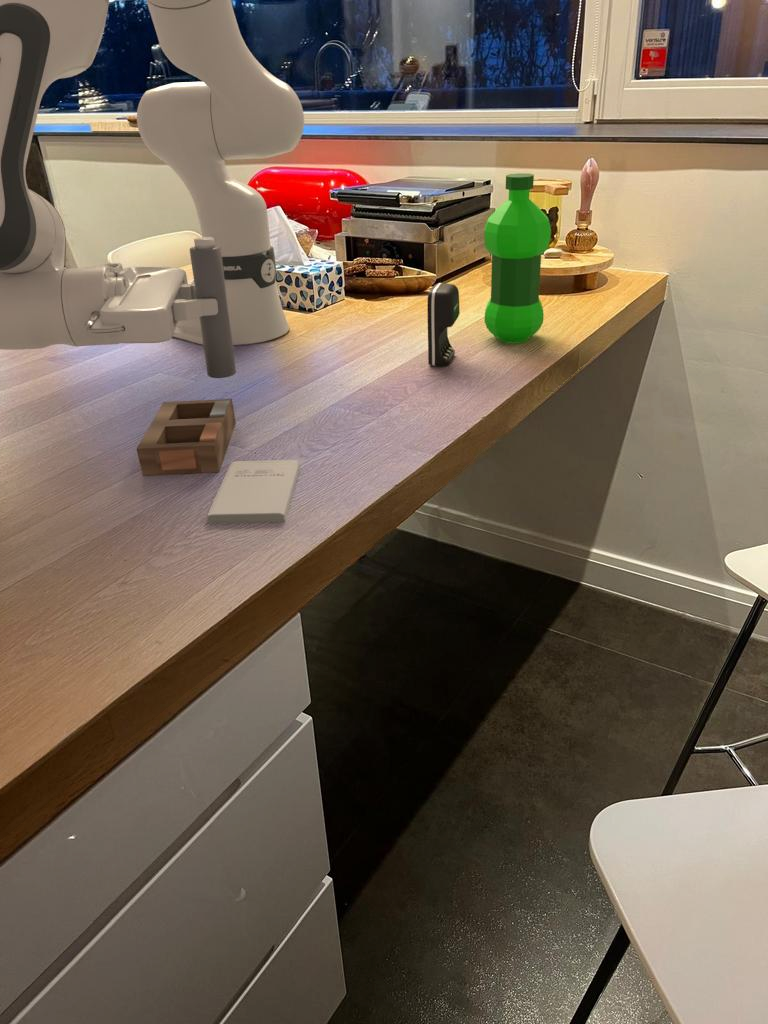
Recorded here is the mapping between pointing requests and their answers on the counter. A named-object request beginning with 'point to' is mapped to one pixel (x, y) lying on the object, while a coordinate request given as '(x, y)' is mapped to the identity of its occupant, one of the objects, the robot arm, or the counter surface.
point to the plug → (218, 326)
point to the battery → (441, 322)
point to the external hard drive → (255, 492)
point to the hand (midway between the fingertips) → (219, 299)
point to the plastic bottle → (516, 262)
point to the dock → (187, 437)
